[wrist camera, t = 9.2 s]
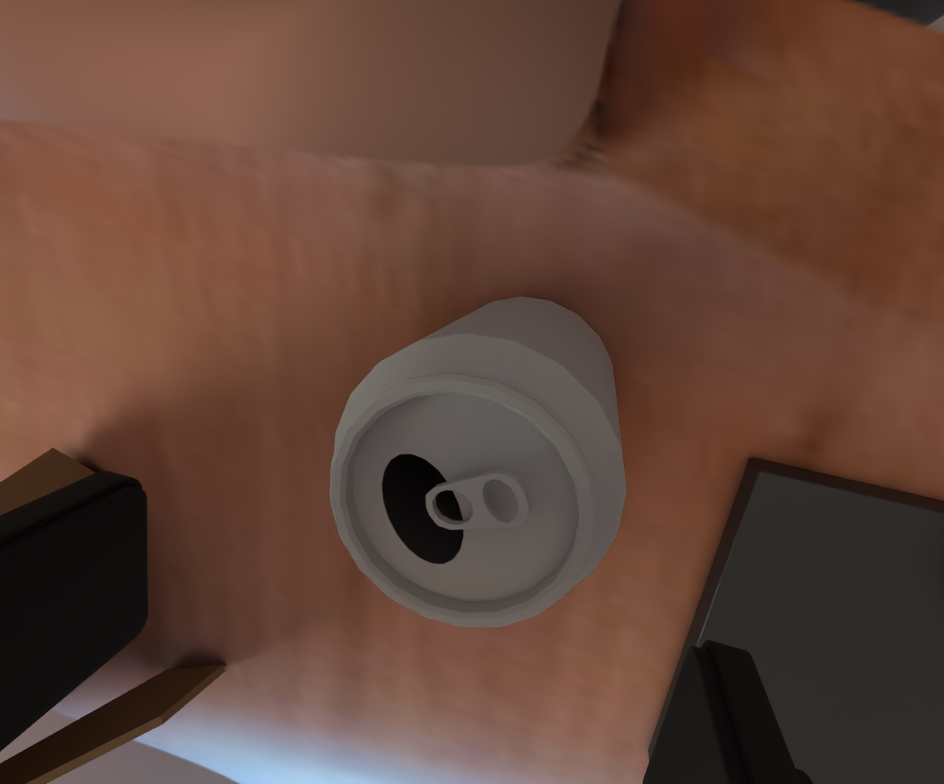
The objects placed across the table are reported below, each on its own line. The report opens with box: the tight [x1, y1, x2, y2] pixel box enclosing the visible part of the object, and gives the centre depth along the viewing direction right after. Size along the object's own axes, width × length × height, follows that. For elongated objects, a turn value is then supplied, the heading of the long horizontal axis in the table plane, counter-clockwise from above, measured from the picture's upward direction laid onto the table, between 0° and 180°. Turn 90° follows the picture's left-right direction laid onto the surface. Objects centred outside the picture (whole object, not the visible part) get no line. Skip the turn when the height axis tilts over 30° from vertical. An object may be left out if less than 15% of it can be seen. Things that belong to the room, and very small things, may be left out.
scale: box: [648, 458, 944, 784], centre depth 22 cm, size 17×13×3 cm
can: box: [330, 296, 627, 627], centre depth 18 cm, size 8×8×12 cm
